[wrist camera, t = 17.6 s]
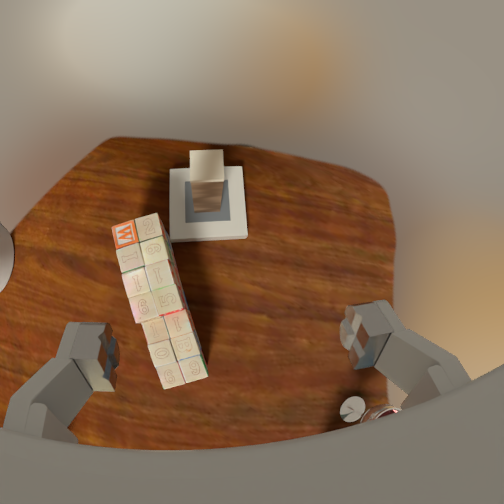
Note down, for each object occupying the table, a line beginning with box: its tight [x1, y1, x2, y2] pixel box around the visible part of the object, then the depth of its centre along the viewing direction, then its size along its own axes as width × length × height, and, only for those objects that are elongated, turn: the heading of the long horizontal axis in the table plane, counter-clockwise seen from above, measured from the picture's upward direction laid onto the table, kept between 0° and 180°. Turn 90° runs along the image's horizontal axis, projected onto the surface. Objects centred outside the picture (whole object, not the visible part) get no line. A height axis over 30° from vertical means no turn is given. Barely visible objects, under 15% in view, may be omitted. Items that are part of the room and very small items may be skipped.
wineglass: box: [340, 396, 401, 424], centre depth 40 cm, size 7×7×12 cm
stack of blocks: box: [112, 213, 208, 389], centre depth 40 cm, size 21×6×12 cm, turn 17°
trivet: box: [170, 166, 248, 243], centre depth 49 cm, size 12×12×2 cm
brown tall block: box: [190, 150, 224, 213], centre depth 42 cm, size 4×4×12 cm
